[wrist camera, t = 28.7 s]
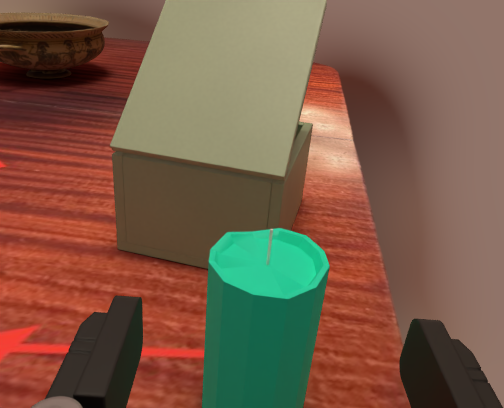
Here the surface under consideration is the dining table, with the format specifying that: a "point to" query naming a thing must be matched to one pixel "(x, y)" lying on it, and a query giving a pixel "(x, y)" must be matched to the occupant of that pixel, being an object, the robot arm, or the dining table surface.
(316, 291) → the candle
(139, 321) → the robot arm
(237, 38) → the lid
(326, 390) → the dining table surface
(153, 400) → the dining table surface
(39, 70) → the ceramic bowl
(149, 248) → the chest
